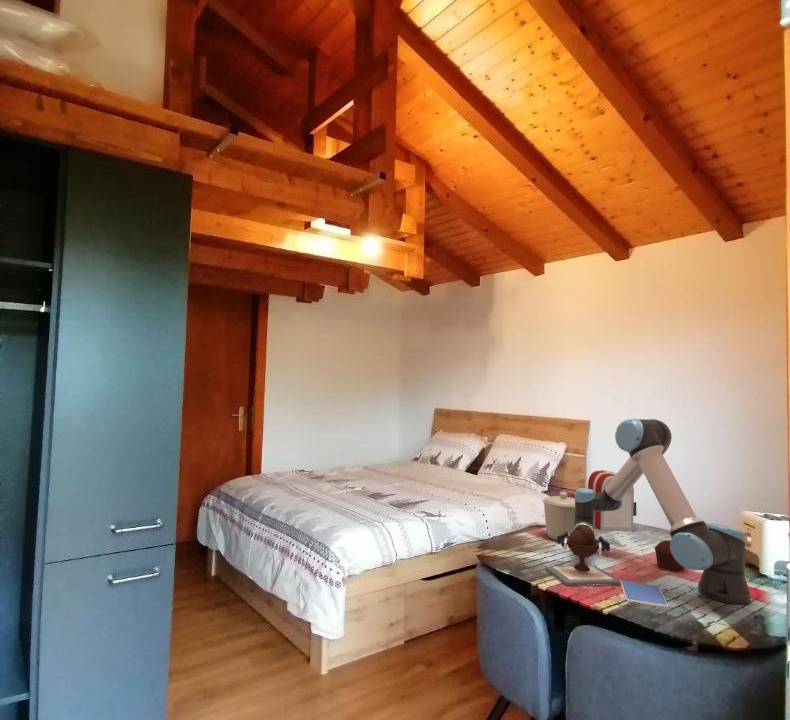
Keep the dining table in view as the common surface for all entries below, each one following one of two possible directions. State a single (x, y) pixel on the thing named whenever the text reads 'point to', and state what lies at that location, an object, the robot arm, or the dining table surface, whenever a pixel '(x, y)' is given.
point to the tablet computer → (643, 594)
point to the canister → (559, 515)
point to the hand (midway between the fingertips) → (582, 549)
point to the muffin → (666, 557)
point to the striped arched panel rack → (616, 518)
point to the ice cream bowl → (582, 546)
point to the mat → (568, 582)
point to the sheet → (582, 574)
